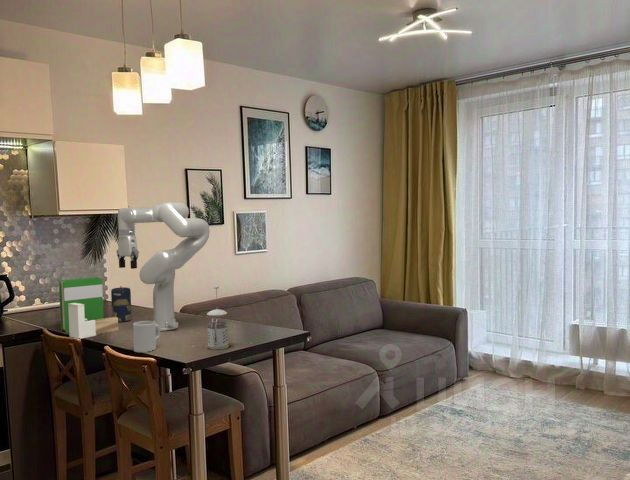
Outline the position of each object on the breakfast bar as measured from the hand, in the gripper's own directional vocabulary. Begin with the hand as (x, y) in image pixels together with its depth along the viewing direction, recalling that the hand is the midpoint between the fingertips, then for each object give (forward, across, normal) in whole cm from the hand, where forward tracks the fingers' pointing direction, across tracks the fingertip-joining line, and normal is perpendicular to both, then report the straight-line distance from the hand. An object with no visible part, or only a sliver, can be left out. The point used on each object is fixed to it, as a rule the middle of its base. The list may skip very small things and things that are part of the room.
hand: (128, 268), depth 267 cm
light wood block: (+28, -4, +18) cm, 34 cm away
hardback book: (+28, +12, +18) cm, 36 cm away
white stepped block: (+28, -4, +28) cm, 40 cm away
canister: (+28, +13, -4) cm, 32 cm away
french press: (+28, -72, +8) cm, 78 cm away
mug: (+28, -50, +25) cm, 63 cm away
